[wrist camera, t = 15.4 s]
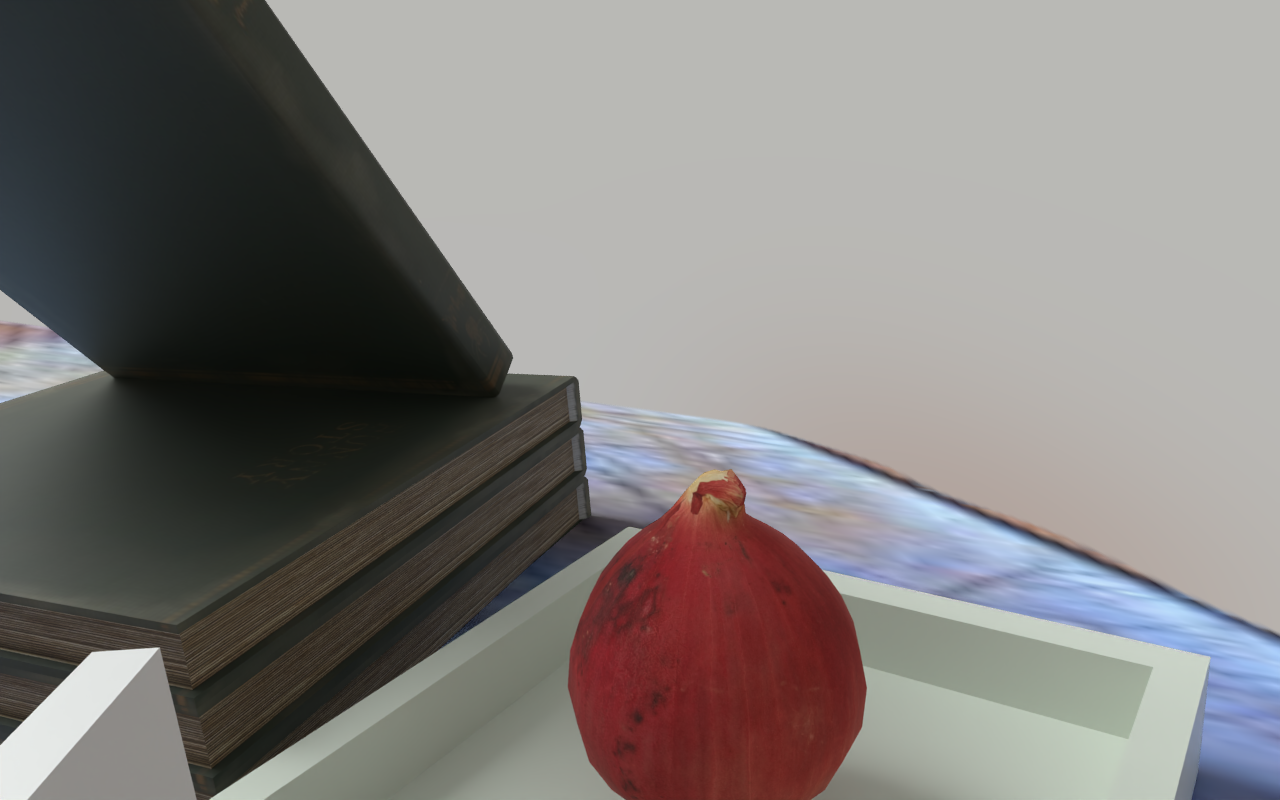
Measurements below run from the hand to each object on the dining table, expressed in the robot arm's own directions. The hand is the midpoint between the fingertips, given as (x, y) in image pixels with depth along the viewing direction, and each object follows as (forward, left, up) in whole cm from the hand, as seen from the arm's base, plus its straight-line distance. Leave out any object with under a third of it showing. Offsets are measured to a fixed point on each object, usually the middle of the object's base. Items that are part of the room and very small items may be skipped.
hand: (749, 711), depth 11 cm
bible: (+8, +28, -10) cm, 30 cm away
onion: (+6, +4, -8) cm, 11 cm away
